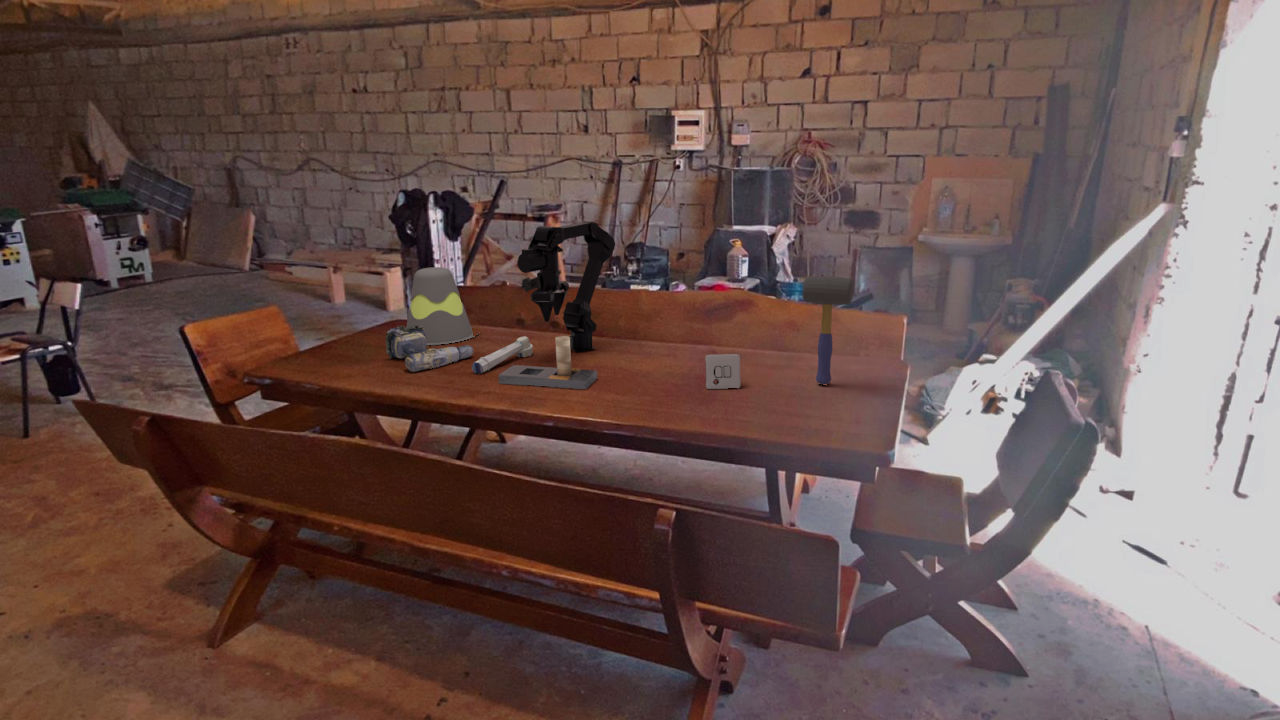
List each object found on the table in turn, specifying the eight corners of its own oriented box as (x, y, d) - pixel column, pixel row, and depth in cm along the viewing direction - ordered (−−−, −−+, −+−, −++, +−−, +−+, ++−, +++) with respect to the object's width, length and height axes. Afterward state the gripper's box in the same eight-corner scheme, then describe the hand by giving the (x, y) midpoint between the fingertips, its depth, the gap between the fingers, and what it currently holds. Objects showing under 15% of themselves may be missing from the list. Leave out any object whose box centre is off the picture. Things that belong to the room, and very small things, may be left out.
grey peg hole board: (499, 383, 212) (498, 374, 211) (514, 373, 221) (513, 364, 220) (585, 389, 205) (585, 379, 204) (597, 378, 214) (596, 369, 213)
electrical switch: (706, 390, 203) (706, 356, 201) (704, 385, 208) (704, 353, 206) (740, 389, 203) (741, 355, 201) (738, 385, 208) (738, 352, 206)
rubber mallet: (848, 383, 205) (855, 275, 197) (844, 391, 199) (850, 279, 190) (803, 378, 210) (807, 272, 202) (797, 386, 204) (802, 277, 195)
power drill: (375, 363, 236) (371, 329, 233) (436, 348, 252) (433, 316, 249) (415, 375, 222) (411, 340, 219) (477, 359, 238) (474, 325, 235)
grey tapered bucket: (396, 331, 274) (388, 266, 268) (473, 323, 283) (468, 260, 277) (400, 349, 249) (392, 278, 243) (484, 340, 258) (479, 271, 252)
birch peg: (568, 379, 214) (566, 335, 211) (574, 382, 211) (572, 338, 207) (555, 381, 212) (553, 337, 209) (561, 385, 209) (558, 340, 205)
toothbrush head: (468, 361, 221) (521, 331, 241) (472, 381, 224) (524, 350, 243) (482, 363, 219) (534, 332, 238) (486, 383, 221) (537, 352, 241)
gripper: (534, 262, 237) (537, 310, 242) (512, 272, 220) (516, 324, 224) (568, 263, 235) (570, 311, 239) (548, 273, 218) (551, 325, 222)
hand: (551, 318), depth 231 cm, fingers open, 9 cm apart
